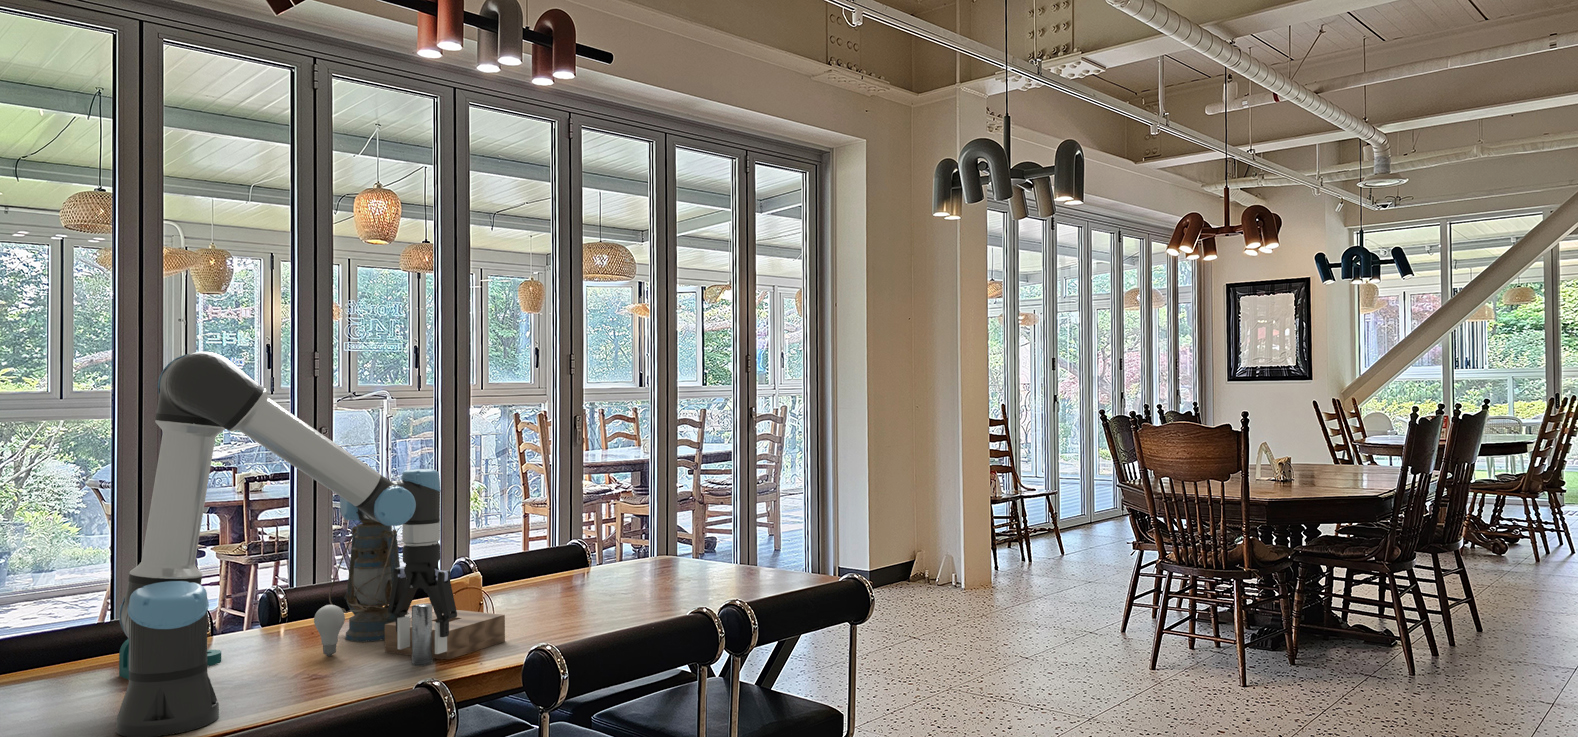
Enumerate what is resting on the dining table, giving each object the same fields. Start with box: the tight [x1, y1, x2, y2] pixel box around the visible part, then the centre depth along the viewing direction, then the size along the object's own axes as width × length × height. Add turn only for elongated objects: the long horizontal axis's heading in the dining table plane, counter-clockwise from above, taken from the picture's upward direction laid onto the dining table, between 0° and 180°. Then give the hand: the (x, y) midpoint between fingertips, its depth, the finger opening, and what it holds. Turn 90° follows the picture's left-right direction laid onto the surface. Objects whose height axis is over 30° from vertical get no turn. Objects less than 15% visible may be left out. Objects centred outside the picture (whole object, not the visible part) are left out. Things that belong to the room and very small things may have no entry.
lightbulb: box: [313, 604, 346, 657], centre depth 225 cm, size 6×6×11 cm
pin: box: [411, 603, 433, 667], centre depth 218 cm, size 4×4×12 cm
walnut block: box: [384, 609, 506, 660], centre depth 232 cm, size 18×18×6 cm
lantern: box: [328, 519, 401, 643], centre depth 244 cm, size 19×14×30 cm
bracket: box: [118, 637, 222, 681], centre depth 216 cm, size 18×7×8 cm, turn 141°
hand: (422, 650), depth 218 cm, fingers open, 10 cm apart
